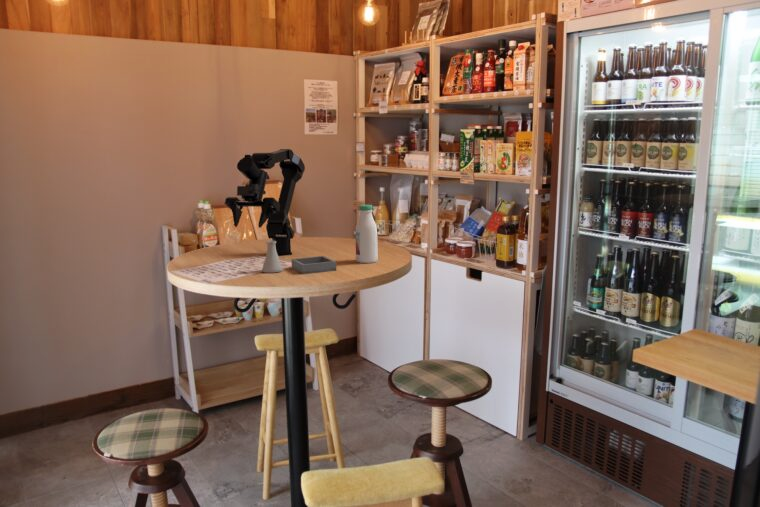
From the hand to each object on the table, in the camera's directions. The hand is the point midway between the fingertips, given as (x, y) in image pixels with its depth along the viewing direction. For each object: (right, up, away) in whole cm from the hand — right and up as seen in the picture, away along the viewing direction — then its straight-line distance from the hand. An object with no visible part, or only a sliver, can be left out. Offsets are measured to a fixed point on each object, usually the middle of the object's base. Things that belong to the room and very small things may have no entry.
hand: (247, 226), depth 208 cm
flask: (+10, -15, -5) cm, 19 cm away
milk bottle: (+41, -12, +8) cm, 43 cm away
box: (+23, -14, -3) cm, 27 cm away
